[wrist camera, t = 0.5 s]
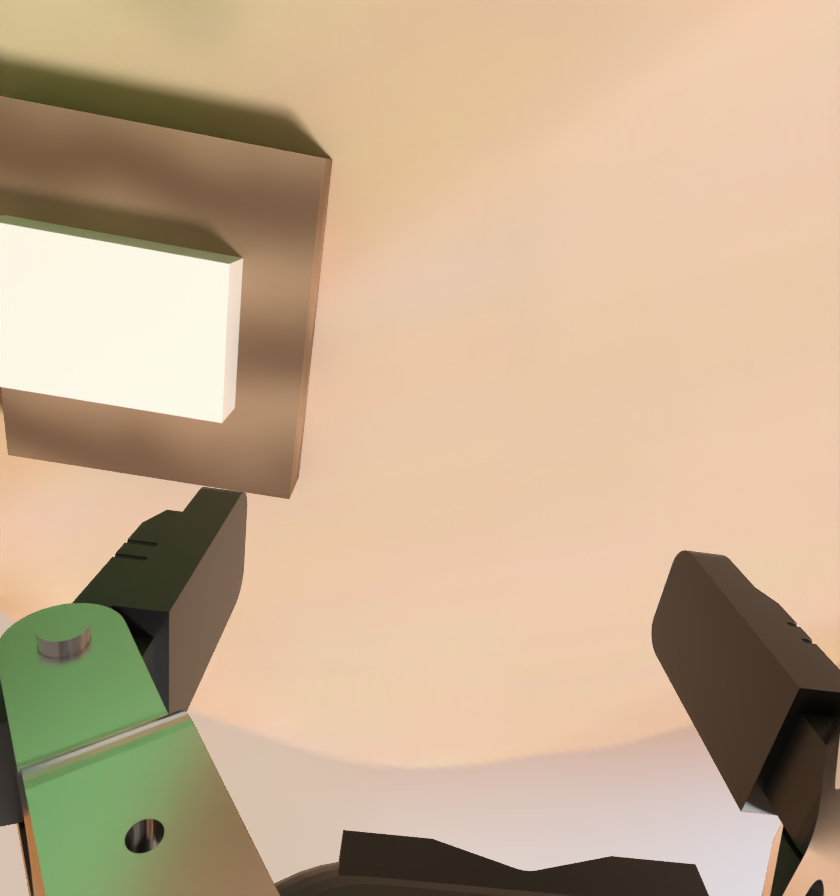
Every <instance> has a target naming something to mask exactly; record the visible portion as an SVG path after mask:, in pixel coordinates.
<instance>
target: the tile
mask: <svg viewBox="0 0 840 896" xmlns="http://www.w3.org/2000/svg"><path fill="white" fill-rule="evenodd" d="M242 270H243V258H240V257H235V256H229V255H224V254H218V253H213V252H207V251H202V250H196V249H190V248H185V247H179V246H174V245H168V244H163V243H157V242H152V241H146V240H141V239H135V238H130V237H124V236H118V235H113V234H107V233H102V232H96V231H91V230H85V229H80V228H74V227H69V226H63V225H58V224H52V223H47V222H41V221H35V220H30V219H24V218H19V217H13V216H8V215H2V216H0V387H4V388H10V389H16V390H22V391H28V392H35V393H41V394H47V395H53V396H59V397H65V398H71V399H77V400H83V401H90V402H96V403H102V404H108V405H114V406H120V407H126V408H132V409H138V410H144V411H151V412H157V413H163V414H169V415H175V416H181V417H187V418H193V419H199V420H206V421H212V422H218V423H223V421H224V420H225V419H226V418H227V417H228V415H229V414H230V413H231V412H232V411H233V409H234V408H235V396H236V378H237V360H238V342H239V324H240V306H241V288H242Z"/></svg>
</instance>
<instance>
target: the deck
mask: <svg viewBox="0 0 840 896" xmlns="http://www.w3.org/2000/svg"><path fill="white" fill-rule="evenodd" d="M331 166H332V159H327V158H322V157H317V156H311V155H306V154H301V153H296V152H291V151H285V150H280V149H275V148H270V147H265V146H259V145H254V144H249V143H244V142H238V141H233V140H228V139H223V138H218V137H212V136H207V135H202V134H197V133H192V132H186V131H181V130H176V129H171V128H166V127H160V126H155V125H150V124H145V123H140V122H134V121H129V120H124V119H119V118H114V117H108V116H103V115H98V114H93V113H88V112H82V111H77V110H72V109H67V108H62V107H56V106H51V105H46V104H41V103H36V102H30V101H25V100H20V99H15V98H10V97H4V96H0V216H2V215H8V216H13V217H19V218H24V219H30V220H35V221H41V222H47V223H52V224H58V225H63V226H69V227H74V228H80V229H85V230H91V231H96V232H102V233H107V234H113V235H118V236H124V237H130V238H135V239H141V240H146V241H152V242H157V243H163V244H168V245H174V246H179V247H185V248H190V249H196V250H202V251H207V252H213V253H218V254H224V255H229V256H235V257H240V258H243V270H242V288H241V306H240V324H239V342H238V360H237V378H236V396H235V408H234V409H233V411H232V412H231V413H230V414H229V415H228V417H227V418H226V419H225V420H224V421H223V423H218V422H212V421H206V420H199V419H193V418H187V417H181V416H175V415H169V414H163V413H157V412H151V411H144V410H138V409H132V408H126V407H120V406H114V405H108V404H102V403H96V402H90V401H83V400H77V399H71V398H65V397H59V396H53V395H47V394H41V393H35V392H28V391H22V390H16V389H10V388H4V387H1V394H2V403H3V412H4V421H5V431H6V440H7V449H8V455H12V456H19V457H25V458H31V459H38V460H44V461H50V462H57V463H63V464H69V465H76V466H82V467H88V468H95V469H101V470H108V471H114V472H120V473H127V474H133V475H139V476H146V477H152V478H158V479H165V480H171V481H178V482H184V483H190V484H197V485H203V486H209V487H216V488H222V489H228V490H235V491H241V492H247V493H254V494H260V495H267V496H273V497H279V498H286V499H289V498H290V496H291V494H292V491H293V489H294V487H295V484H296V482H297V480H298V477H299V468H300V459H301V449H302V440H303V430H304V421H305V412H306V402H307V393H308V383H309V374H310V364H311V355H312V345H313V336H314V327H315V317H316V308H317V298H318V289H319V279H320V270H321V261H322V251H323V242H324V232H325V223H326V213H327V204H328V194H329V185H330V176H331Z"/></svg>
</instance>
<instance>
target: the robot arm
mask: <svg viewBox="0 0 840 896" xmlns="http://www.w3.org/2000/svg"><path fill="white" fill-rule="evenodd" d="M246 517H247V496H246V493H245V492H238V491H231V490H223V489H215V488H208V487H202V488H201V489H200V490H199V491H198V493H197V494H196V495H195V497H194V498H193V499H192V500H191V502H190V503H189V504H188V506H187V507H186V508H185V510H184V511H183V512H180V511H172V510H166V511H164V512H162V513H160V514H158V515H156V516H154V517H152V518H150V519H149V520H147V521H145V522H143V523H142V524H141V525H140V526H139V527H138V528H137V529H136V531H135V532H134V533H133V534H132V535H131V536H130V537H129V539H128V542H127V543H124V544H123V546H122V547H121V548H120V549H119V550H118V551H117V552H116V555H115V557H112V558H111V559H110V560H109V562H108V563H107V564H106V565H105V566H104V567H103V568H102V570H101V571H100V572H99V573H98V574H97V575H96V576H95V578H94V579H93V580H92V581H91V582H90V583H89V584H88V586H87V587H86V588H85V589H84V590H83V591H82V593H81V594H80V595H79V596H78V597H77V598H76V599H75V601H74V602H73V603H71V604H63V605H58V606H53V607H49V608H46V609H42V610H40V611H37V612H35V613H32V614H30V615H28V616H26V617H24V618H22V619H21V620H19V621H18V622H16V623H15V624H13V625H12V626H11V627H10V628H8V629H7V631H6V632H5V633H4V634H3V635H2V636H1V638H0V826H5V825H10V824H15V823H17V827H18V833H19V839H20V845H21V850H22V856H23V862H24V867H25V872H26V879H27V885H28V891H29V896H709V895H708V893H707V891H706V888H705V886H704V883H703V881H702V879H701V877H700V874H699V872H698V870H697V867H696V865H694V864H684V863H674V862H664V861H654V860H642V859H633V858H623V857H613V856H611V857H605V858H600V859H595V860H589V861H584V862H580V863H574V864H569V865H563V866H558V867H553V868H547V869H543V870H537V871H523V870H519V869H516V868H513V867H510V866H507V865H504V864H501V863H499V862H496V861H493V860H490V859H487V858H484V857H481V856H479V855H476V854H473V853H470V852H468V851H465V850H462V849H459V848H456V847H453V846H451V845H448V844H445V843H442V842H439V841H437V840H434V839H427V838H418V837H407V836H397V835H386V834H376V833H366V832H356V831H345V830H344V831H343V836H342V843H341V850H340V856H339V862H336V863H331V864H325V865H320V866H317V867H314V868H311V869H308V870H304V871H301V872H299V873H296V874H294V875H292V876H290V877H288V878H285V879H283V880H281V881H279V882H277V883H275V884H274V883H273V881H272V879H271V877H270V875H269V873H268V871H267V869H266V867H265V865H264V863H263V861H262V859H261V857H260V855H259V853H258V851H257V849H256V847H255V845H254V843H253V841H252V839H251V837H250V835H249V833H248V831H247V829H246V827H245V825H244V823H243V821H242V819H241V817H240V815H239V813H238V811H237V809H236V807H235V805H234V803H233V801H232V799H231V797H230V795H229V793H228V791H227V789H226V787H225V785H224V783H223V781H222V779H221V777H220V775H219V773H218V771H217V769H216V767H215V765H214V763H213V761H212V759H211V757H210V755H209V753H208V751H207V749H206V747H205V745H204V743H203V741H202V739H201V737H200V735H199V733H198V731H197V729H196V727H195V725H194V723H193V721H192V719H191V718H190V716H189V715H188V714H187V713H186V712H187V710H188V707H189V705H190V703H191V701H192V699H193V696H194V694H195V692H196V690H197V688H198V685H199V683H200V681H201V679H202V677H203V674H204V672H205V670H206V668H207V666H208V663H209V661H210V659H211V657H212V655H213V652H214V650H215V648H216V646H217V644H218V642H219V639H220V637H221V635H222V633H223V631H224V628H225V626H226V624H227V622H228V620H229V617H230V615H231V613H232V611H233V609H234V606H235V604H236V602H237V599H238V596H239V592H240V588H241V584H242V578H243V571H244V555H245V536H246ZM796 624H797V623H796V622H795V621H794V620H793V619H792V618H791V617H790V616H789V615H788V613H787V612H786V611H785V610H784V609H783V608H782V607H781V606H780V605H779V604H778V603H777V602H775V601H774V600H773V599H771V598H770V597H768V596H767V595H765V594H764V593H762V592H761V591H759V590H758V589H757V588H755V587H754V586H753V585H752V584H751V583H750V581H749V580H748V579H747V578H746V577H745V576H744V575H743V574H742V573H741V571H740V570H739V569H738V568H737V567H736V566H735V565H734V564H733V563H732V562H731V560H730V559H729V558H727V557H726V556H723V555H717V554H709V553H701V552H693V551H686V550H685V551H681V552H680V553H679V554H678V555H677V556H676V557H675V559H674V561H673V564H672V567H671V570H670V573H669V575H668V578H667V581H666V584H665V587H664V590H663V593H662V596H661V599H660V601H659V604H658V607H657V610H656V613H655V616H654V619H653V624H652V644H653V648H654V651H655V654H656V656H657V658H658V659H659V661H660V663H661V665H662V667H663V669H664V670H665V672H666V674H667V676H668V678H669V680H670V682H671V683H672V685H673V687H674V689H675V691H676V693H677V694H678V696H679V698H680V700H681V702H682V704H683V705H684V707H685V709H686V711H687V713H688V715H689V717H690V718H691V720H692V722H693V724H694V726H695V728H696V729H697V731H698V733H699V735H700V737H701V739H702V740H703V742H704V744H705V746H706V747H707V750H708V751H709V753H710V755H711V757H712V759H713V761H714V763H715V764H716V766H717V768H718V770H719V772H720V774H721V775H722V777H723V779H724V781H725V783H726V785H727V786H728V788H729V790H730V792H731V794H732V796H733V798H734V799H735V801H736V803H737V805H738V807H739V808H740V810H741V812H749V813H759V814H769V815H778V817H779V819H780V820H781V822H782V823H781V825H780V827H779V829H778V831H777V833H776V835H775V837H774V840H773V843H772V848H771V853H770V858H769V862H768V867H767V872H766V877H765V882H764V887H763V892H762V896H840V670H839V669H838V667H837V666H836V665H835V664H834V663H833V662H832V661H831V660H830V659H829V658H828V657H827V656H826V655H825V653H824V652H823V651H822V650H821V649H820V648H819V647H818V646H817V645H816V644H812V639H811V638H810V637H809V636H808V635H807V634H806V633H805V632H804V631H803V630H802V629H801V627H797V626H796Z"/></svg>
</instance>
